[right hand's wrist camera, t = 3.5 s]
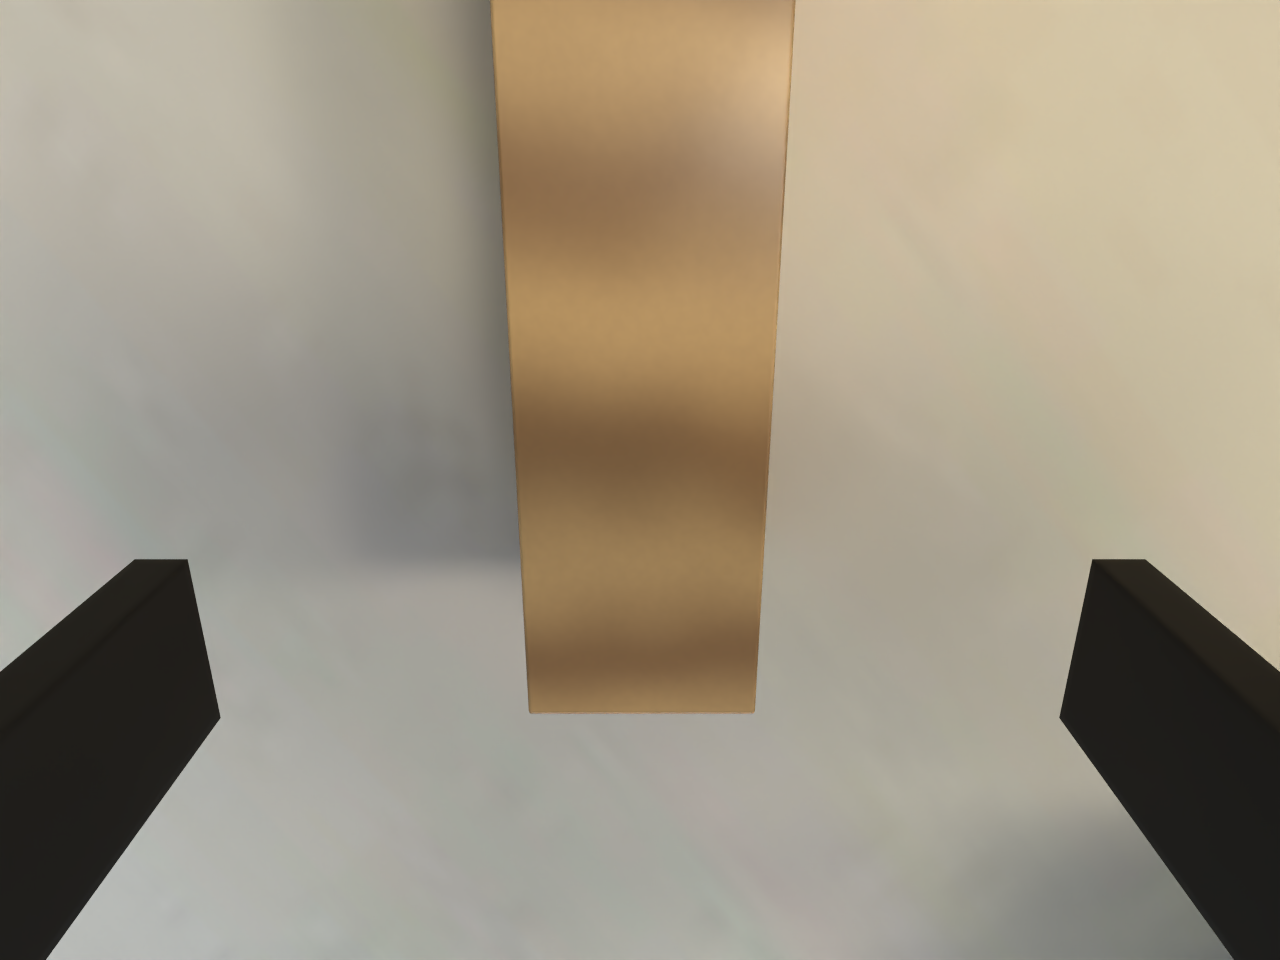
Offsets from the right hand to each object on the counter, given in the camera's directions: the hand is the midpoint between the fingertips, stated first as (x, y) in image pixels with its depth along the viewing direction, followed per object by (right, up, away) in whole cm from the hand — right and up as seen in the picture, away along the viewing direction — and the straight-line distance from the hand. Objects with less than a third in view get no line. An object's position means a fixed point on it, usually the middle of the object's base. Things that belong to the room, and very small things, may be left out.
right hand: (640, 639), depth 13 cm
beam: (0, +32, +4) cm, 32 cm away
